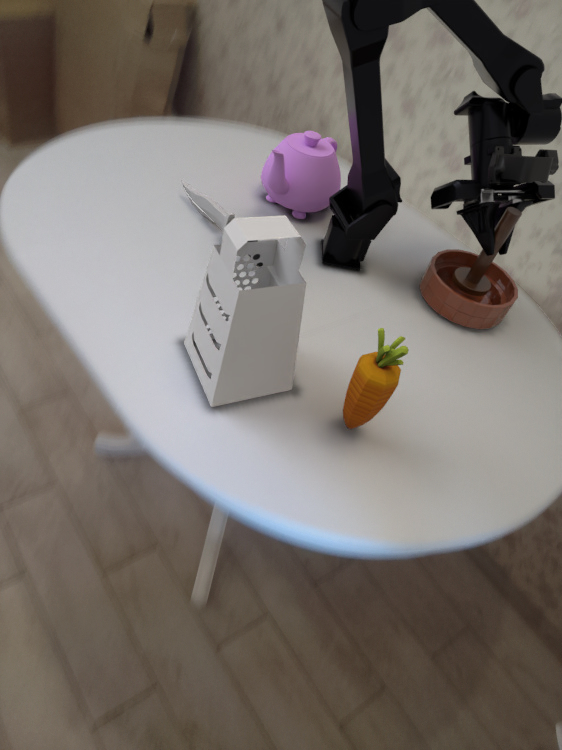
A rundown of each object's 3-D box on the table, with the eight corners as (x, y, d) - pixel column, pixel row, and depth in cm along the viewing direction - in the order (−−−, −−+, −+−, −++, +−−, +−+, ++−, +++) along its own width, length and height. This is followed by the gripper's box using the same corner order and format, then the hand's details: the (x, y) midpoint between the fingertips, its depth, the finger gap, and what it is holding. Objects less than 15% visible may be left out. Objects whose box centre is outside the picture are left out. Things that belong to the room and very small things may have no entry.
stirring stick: (456, 292, 78) (500, 218, 69) (448, 268, 83) (489, 195, 73) (492, 299, 79) (540, 227, 70) (482, 275, 83) (527, 204, 74)
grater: (183, 343, 65) (198, 199, 50) (259, 331, 69) (293, 196, 54) (211, 407, 59) (236, 266, 44) (291, 389, 63) (338, 256, 49)
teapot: (290, 241, 85) (308, 169, 76) (227, 200, 89) (237, 128, 80) (353, 205, 97) (375, 140, 88) (295, 171, 101) (311, 106, 92)
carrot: (326, 409, 62) (367, 318, 51) (364, 411, 63) (412, 323, 52) (332, 443, 59) (377, 354, 48) (372, 445, 60) (425, 359, 49)
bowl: (426, 323, 78) (440, 298, 74) (412, 267, 87) (424, 242, 84) (511, 338, 80) (529, 314, 76) (488, 281, 89) (503, 258, 86)
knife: (175, 193, 87) (177, 165, 83) (184, 192, 88) (187, 164, 84) (259, 281, 76) (265, 253, 72) (268, 278, 77) (275, 251, 73)
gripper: (484, 119, 63) (491, 249, 64) (588, 126, 70) (591, 243, 72) (424, 149, 73) (432, 261, 75) (520, 153, 80) (525, 255, 82)
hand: (496, 254), depth 75 cm, fingers closed on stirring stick, 2 cm apart
